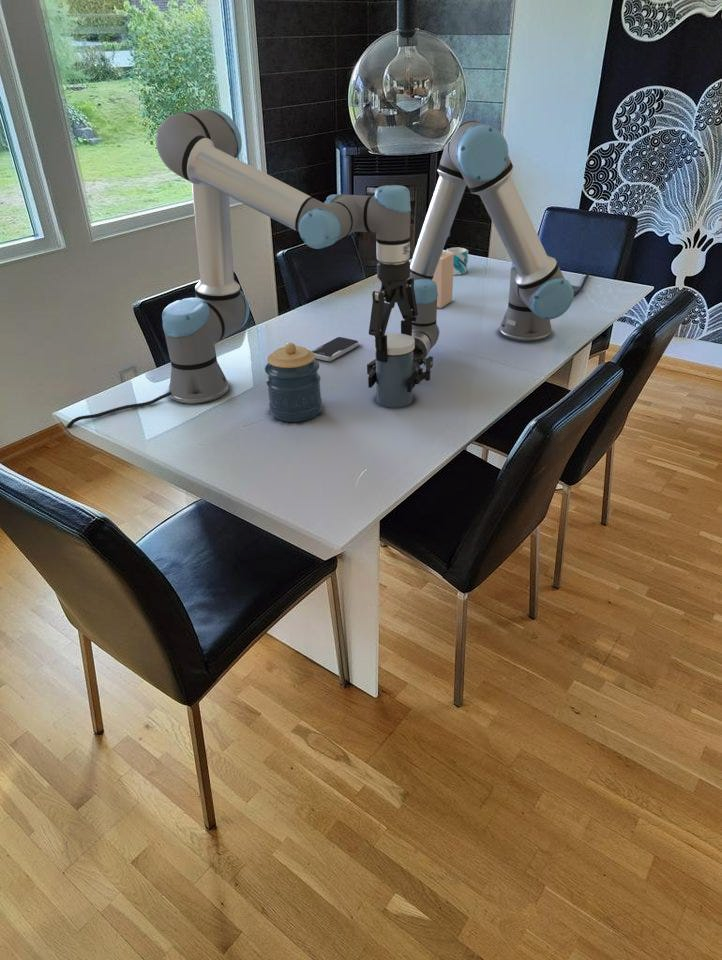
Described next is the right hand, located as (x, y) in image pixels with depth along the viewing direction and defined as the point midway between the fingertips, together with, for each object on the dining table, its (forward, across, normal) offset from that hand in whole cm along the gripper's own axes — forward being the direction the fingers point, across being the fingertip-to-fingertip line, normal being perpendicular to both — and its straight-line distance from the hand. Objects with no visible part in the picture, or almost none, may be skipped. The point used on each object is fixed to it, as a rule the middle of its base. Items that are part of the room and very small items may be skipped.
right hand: (389, 384), depth 163 cm
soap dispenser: (-82, +7, -6) cm, 83 cm away
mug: (-121, +9, -6) cm, 121 cm away
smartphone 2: (-103, -31, -6) cm, 108 cm away
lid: (-4, 0, +9) cm, 10 cm away
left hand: (-4, 0, +6) cm, 8 cm away
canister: (+8, +22, -6) cm, 24 cm away
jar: (-4, 0, -6) cm, 8 cm away
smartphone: (-31, +26, -6) cm, 41 cm away
